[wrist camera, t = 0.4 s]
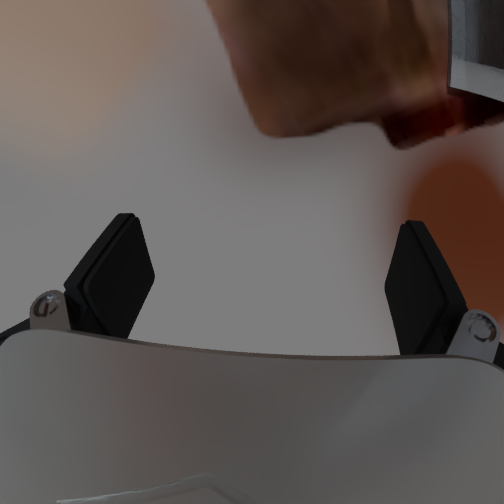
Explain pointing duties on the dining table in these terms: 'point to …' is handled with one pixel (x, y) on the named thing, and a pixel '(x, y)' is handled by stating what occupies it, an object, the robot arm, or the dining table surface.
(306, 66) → the dining table surface
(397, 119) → the dining table surface
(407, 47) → the dining table surface
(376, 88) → the dining table surface
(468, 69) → the receiver
